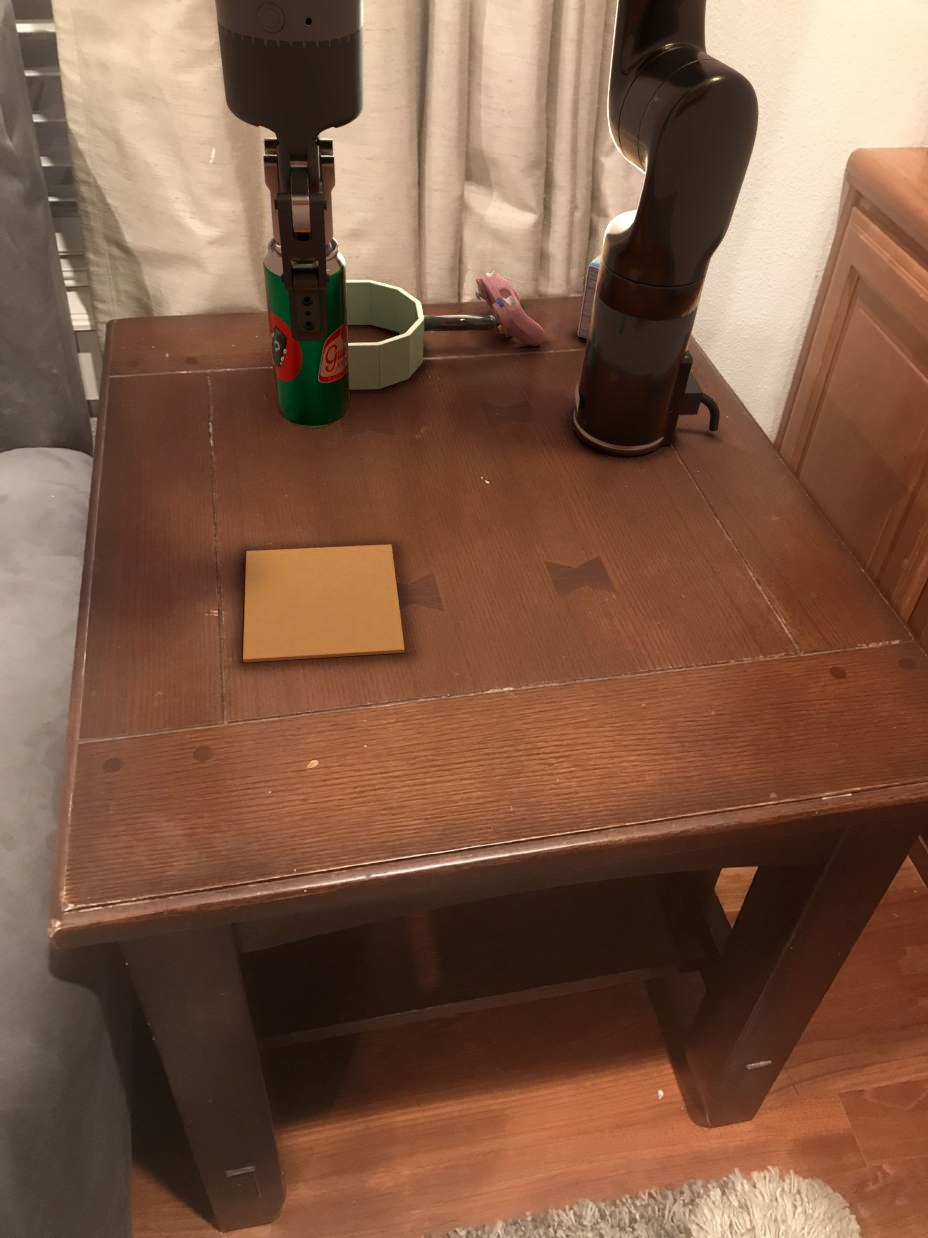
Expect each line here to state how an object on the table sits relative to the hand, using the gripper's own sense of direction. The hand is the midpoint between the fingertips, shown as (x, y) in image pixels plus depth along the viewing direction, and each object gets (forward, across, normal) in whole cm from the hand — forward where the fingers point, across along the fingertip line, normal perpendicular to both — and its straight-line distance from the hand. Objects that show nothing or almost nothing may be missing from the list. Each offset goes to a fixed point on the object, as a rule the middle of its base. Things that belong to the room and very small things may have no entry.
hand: (308, 314), depth 61 cm
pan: (+23, +34, -9) cm, 42 cm away
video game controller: (+23, +39, -21) cm, 50 cm away
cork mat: (+23, -3, 0) cm, 23 cm away
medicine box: (+23, +36, -34) cm, 54 cm away
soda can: (+8, 0, 0) cm, 8 cm away
